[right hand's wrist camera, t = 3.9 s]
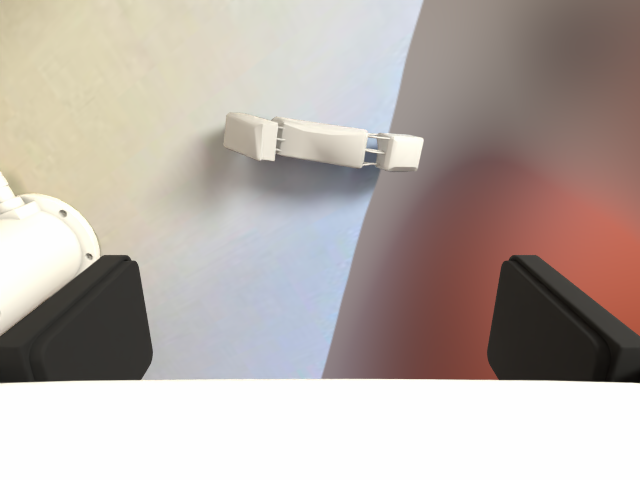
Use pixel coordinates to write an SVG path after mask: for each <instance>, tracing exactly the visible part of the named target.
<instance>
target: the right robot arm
mask: <svg viewBox="0 0 640 480" xmlns="http://www.w3.org/2000/svg"><path fill="white" fill-rule="evenodd" d="M8 185H9V184H8V182H7V180H6V179H5V177H4V176H3V174H2V173H1V171H0V335H1V334H3V333H4V332H5V331H6V330H8V329H9V328H10V327H11V326H13V325H14V324H15V323H17V322H18V321H19V320H20V319H22V318H23V317H24V316H25V315H27V314H28V313H29V312H31V311H32V310H33V309H34V308H36V307H37V306H38V305H39V304H41V303H42V302H43V301H45V300H46V299H47V298H48V299H47V300H46V301H45V302H43V303H42V304H41V305H40V306H38V307H37V308H36V309H34V310H33V311H32V312H31V313H29V314H28V315H27V316H26V317H24V318H23V319H22V320H20V321H19V322H18V323H17V324H15V325H14V326H13V327H12V328H10V329H9V330H8V331H7V332H5V333H4V334H3V335H1V336H0V480H640V336H639V335H637V334H636V333H635V332H633V331H632V330H631V329H630V328H628V327H627V326H626V325H625V324H623V323H622V322H621V321H620V320H618V319H617V318H616V317H614V316H613V315H612V314H611V313H609V312H608V311H607V310H606V309H604V308H603V307H602V306H600V305H599V304H598V303H597V302H595V301H594V300H593V299H592V298H590V297H589V296H588V295H586V294H585V293H584V292H583V291H581V290H580V289H579V288H578V287H576V286H575V285H574V284H573V283H571V282H570V281H569V280H568V279H566V278H565V277H564V276H562V275H561V274H560V273H559V272H557V271H556V270H555V269H554V268H552V267H551V266H550V265H549V264H547V263H546V262H545V261H543V260H542V259H541V258H540V257H538V256H536V255H513V256H511V257H510V259H509V261H504V262H503V264H502V267H501V272H500V278H499V284H498V290H497V296H496V302H495V308H494V314H493V320H492V325H491V331H490V337H489V343H488V350H487V356H488V361H489V364H490V366H491V367H492V369H493V371H494V372H495V374H496V376H497V377H498V379H499V380H418V379H207V380H141V379H142V377H143V376H144V374H145V372H146V371H147V369H148V368H149V366H150V364H151V361H152V356H153V350H152V343H151V337H150V331H149V325H148V319H147V313H146V307H145V302H144V296H143V290H142V284H141V278H140V272H139V267H138V264H137V262H136V261H131V259H130V257H129V256H127V255H104V256H102V257H100V251H99V245H98V241H97V238H96V236H95V234H94V231H93V229H92V228H91V226H90V225H89V223H88V222H87V221H86V219H85V218H84V217H83V216H82V215H81V214H80V213H79V212H78V211H76V210H75V209H74V208H72V207H71V206H70V205H68V204H67V203H65V202H63V201H61V200H59V199H57V198H54V197H51V196H48V195H42V194H36V193H32V194H21V195H16V196H15V195H14V193H13V192H12V190H11V189H10V187H9V186H8Z"/></svg>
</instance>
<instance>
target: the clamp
mask: <svg viewBox="0 0 640 480" xmlns="http://www.w3.org/2000/svg"><path fill="white" fill-rule="evenodd" d="M369 135H374V136H369ZM368 137H370V138H377V144H378V150H374V149H367V148H366V145H367V139H368ZM422 146H423V138H420V137H416V136H412V135H404V134H389V133H378V134H370V133H368V131H367V130H365V129H359V128H352V127H345V126H338V125H331V124H324V123H317V122H310V121H304V120H297V119H290V118H283V117H277V116H276V117H275V118H273V119H272V120H271V121H270V120H267V119H263V118H260V117H256V116H252V115H249V114H245V113H232V112H230V113H228V114H227V116H226V124H225V134H224V147H225V148H227V149H230V150H232V151H235V152H238V153H240V154H243V155H245V156H248V157H250V158H252V159H255V160H257V161H261V160H267V161H275V153H276V154H278V155H280V156H285V157H291V158H297V159H302V160H309V161H315V162H322V163H328V164H334V165H340V166H346V167H351V168H357V169H358V168H361V167H362V166H366V165H376V167H377V168H380V169H383V170H385V171H389V172H408V171H417V169H418V164H419V159H420V155H421V150H422ZM365 151H367V152H371V153H377V158H376V163H369V162H364V157H365Z"/></svg>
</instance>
